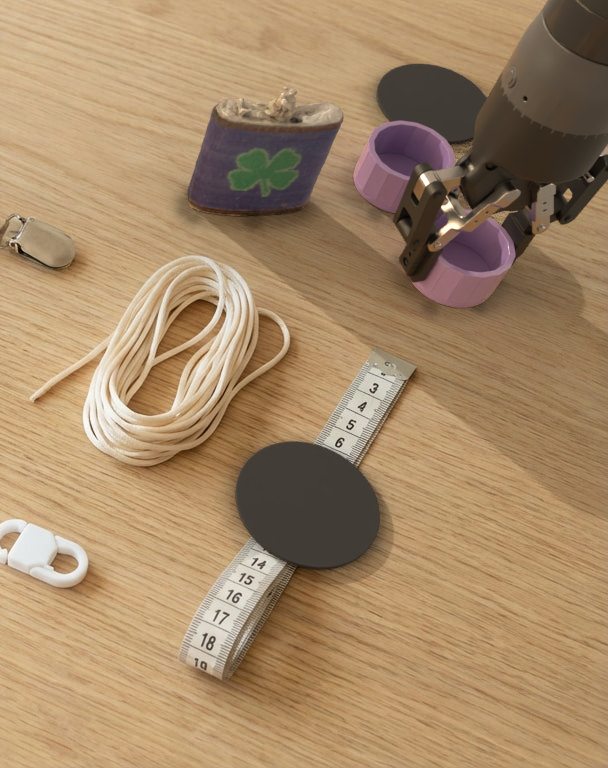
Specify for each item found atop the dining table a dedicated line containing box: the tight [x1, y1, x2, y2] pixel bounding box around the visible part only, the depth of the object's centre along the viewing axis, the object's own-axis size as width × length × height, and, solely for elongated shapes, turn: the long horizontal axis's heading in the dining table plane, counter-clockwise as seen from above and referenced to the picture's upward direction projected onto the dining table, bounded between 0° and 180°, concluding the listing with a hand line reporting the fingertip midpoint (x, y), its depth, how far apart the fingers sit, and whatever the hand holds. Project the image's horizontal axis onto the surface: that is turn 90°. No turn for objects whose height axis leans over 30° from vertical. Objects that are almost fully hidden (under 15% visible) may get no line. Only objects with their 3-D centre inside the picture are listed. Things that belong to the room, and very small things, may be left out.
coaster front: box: [234, 440, 381, 570], centre depth 77 cm, size 9×9×1 cm
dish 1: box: [352, 121, 456, 214], centre depth 91 cm, size 6×6×4 cm
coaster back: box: [375, 63, 487, 145], centre depth 98 cm, size 9×9×1 cm
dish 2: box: [408, 208, 516, 309], centre depth 87 cm, size 6×6×4 cm
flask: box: [185, 86, 345, 217], centre depth 87 cm, size 9×3×11 cm, turn 91°
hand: (455, 264), depth 87 cm, fingers closed on dish 2, 6 cm apart
